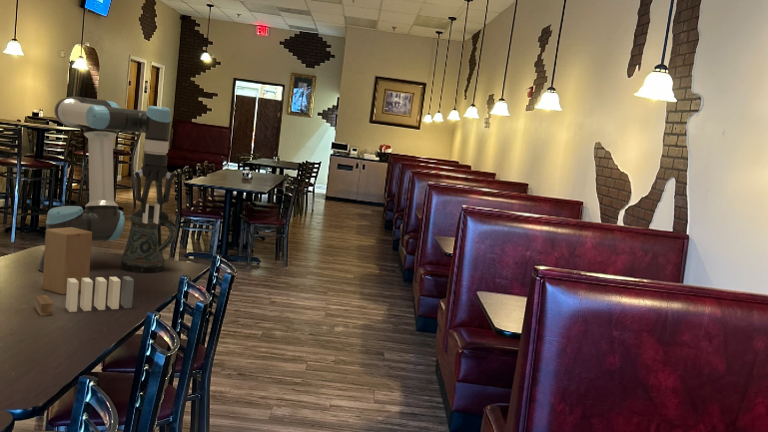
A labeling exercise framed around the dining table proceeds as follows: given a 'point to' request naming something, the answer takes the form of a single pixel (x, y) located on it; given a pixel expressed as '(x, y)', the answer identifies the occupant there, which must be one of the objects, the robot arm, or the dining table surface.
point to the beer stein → (147, 243)
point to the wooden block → (66, 257)
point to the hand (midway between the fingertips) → (150, 222)
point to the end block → (43, 305)
